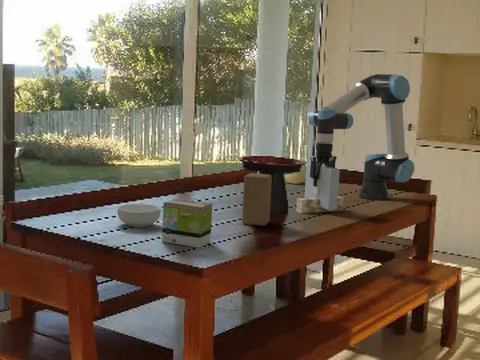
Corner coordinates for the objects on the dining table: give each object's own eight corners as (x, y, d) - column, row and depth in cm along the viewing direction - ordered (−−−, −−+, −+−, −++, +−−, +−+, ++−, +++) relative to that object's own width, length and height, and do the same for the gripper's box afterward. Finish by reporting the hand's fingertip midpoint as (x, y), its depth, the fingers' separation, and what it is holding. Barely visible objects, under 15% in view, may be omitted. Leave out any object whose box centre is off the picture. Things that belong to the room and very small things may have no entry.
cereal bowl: (121, 219, 294) (122, 202, 293) (162, 222, 294) (163, 204, 293) (113, 228, 277) (113, 210, 276) (156, 231, 277) (157, 212, 276)
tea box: (161, 242, 259) (162, 201, 257) (173, 237, 268) (175, 197, 266) (199, 248, 253) (201, 206, 251) (211, 242, 263) (213, 202, 261)
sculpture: (299, 185, 411) (300, 166, 409) (280, 183, 417) (281, 164, 415) (307, 183, 421) (309, 165, 419) (289, 181, 427) (290, 162, 425)
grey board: (304, 202, 342) (306, 164, 339) (312, 201, 345) (315, 163, 342) (328, 209, 327) (330, 169, 324) (336, 208, 329) (339, 169, 327)
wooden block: (265, 226, 295) (268, 177, 292) (241, 224, 297) (243, 175, 294) (269, 222, 305) (272, 174, 302) (246, 219, 307) (248, 172, 304)
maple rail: (337, 208, 344) (338, 196, 343) (343, 210, 341) (344, 197, 340) (296, 211, 331) (296, 198, 331) (301, 213, 328) (302, 200, 327)
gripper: (335, 141, 339) (331, 191, 343) (303, 141, 330) (300, 192, 333) (345, 143, 333) (341, 193, 336) (313, 143, 324) (310, 195, 327)
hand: (321, 193), depth 335 cm, fingers closed on grey board, 5 cm apart
